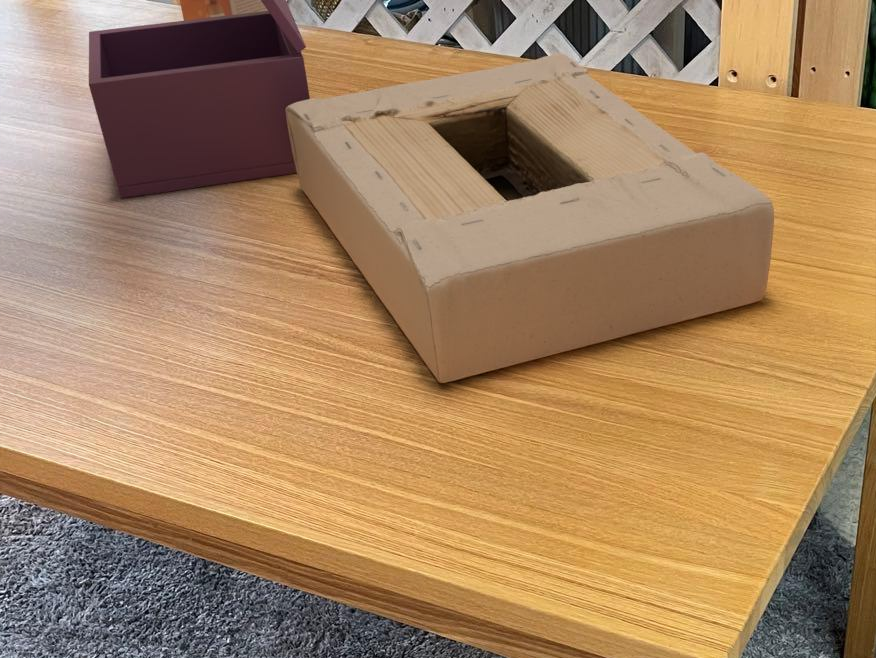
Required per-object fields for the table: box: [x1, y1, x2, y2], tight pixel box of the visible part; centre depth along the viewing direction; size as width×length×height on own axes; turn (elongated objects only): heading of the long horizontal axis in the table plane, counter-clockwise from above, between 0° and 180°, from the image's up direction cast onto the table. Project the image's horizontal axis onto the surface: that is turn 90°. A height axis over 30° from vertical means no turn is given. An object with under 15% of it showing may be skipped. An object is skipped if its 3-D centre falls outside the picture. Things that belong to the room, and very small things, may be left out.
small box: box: [179, 0, 268, 21], centre depth 111 cm, size 8×6×10 cm
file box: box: [88, 11, 311, 199], centre depth 95 cm, size 16×13×9 cm
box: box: [285, 52, 775, 384], centre depth 82 cm, size 23×8×32 cm
